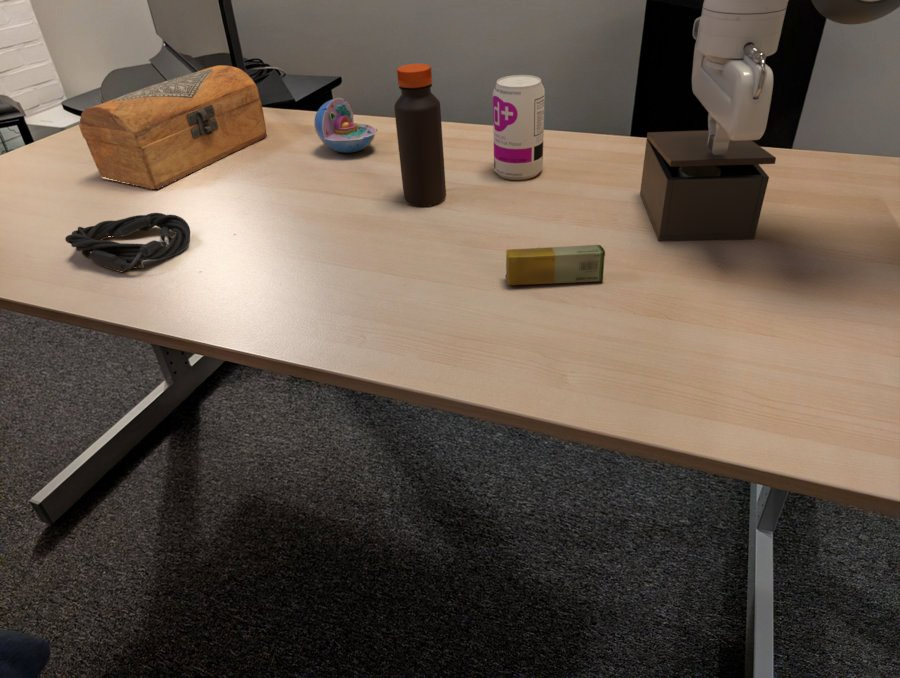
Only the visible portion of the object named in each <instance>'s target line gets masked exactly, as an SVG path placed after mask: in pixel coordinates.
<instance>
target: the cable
mask: <svg viewBox="0 0 900 678" xmlns="http://www.w3.org/2000/svg"><path fill="white" fill-rule="evenodd" d="M155 227H157V228H159V232H158V233H159V236H160V240H161V241H158V240H155V239H154V240H151V241H149V242H146V243H125V242H123V243H121V242H117V241H113V240H106V239H107V238H106V237H108V236H111V238H113V237H112V236H115V237H117V238H121V237H126V236H129V235H132V234H133V233H135V232H137V231H145V232H146V231H150V230H152V229H153V228H155ZM171 231H172V232H174V233H175V235H173V236H172V235H171ZM190 238H191V229H190V226H189V224H188V222H187V221H186V220H185V219H184V218H183V217H181V216H179V215H176V214H165V213H161V212H151V213H148V214H139V215H133V216H128V217H125V218H121V219H117V220H103V221H101V222H100V221H99V222H98V223H96V224H95V225H90V226H86V227H82V226H78V227H77V230H73V231H72V232H71V234H68V235H66V237H65V238H64V239H65V242H66V243H68V244H70V246H71V247H72V248H75V250H76V252H81V254H82V255H83V257H85V258H86V259H87V260H90V261H92V262H93V263H94V264H96V265H98V266H101V267H103V268H106V267H107V269H110V270H113V269H114V270H113V271H116V270H118V271H117V272H120V271H123V272H125V271H126V270H127V271H128V270H131V269H135V268H134V267H143V268H144V267H145V266H144V261H145V262H146V261H158V260H163V259H165V258H171V257H174V256H176V255H178V254H180V253H182V252H183V251H184V250H185V249H186V248H187V246H188V244H189V243H190ZM101 239H102V240H101ZM132 267H133V268H132ZM124 270H125V271H124Z"/></svg>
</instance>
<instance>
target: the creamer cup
mask: <svg viewBox="0 0 900 678" xmlns="http://www.w3.org/2000/svg"><path fill="white" fill-rule="evenodd" d="M721 174H722V171H721V169H720V168H718V167H716V166H684V167H680V168H679V169H678V175H677V177H703V176H721Z"/></svg>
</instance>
